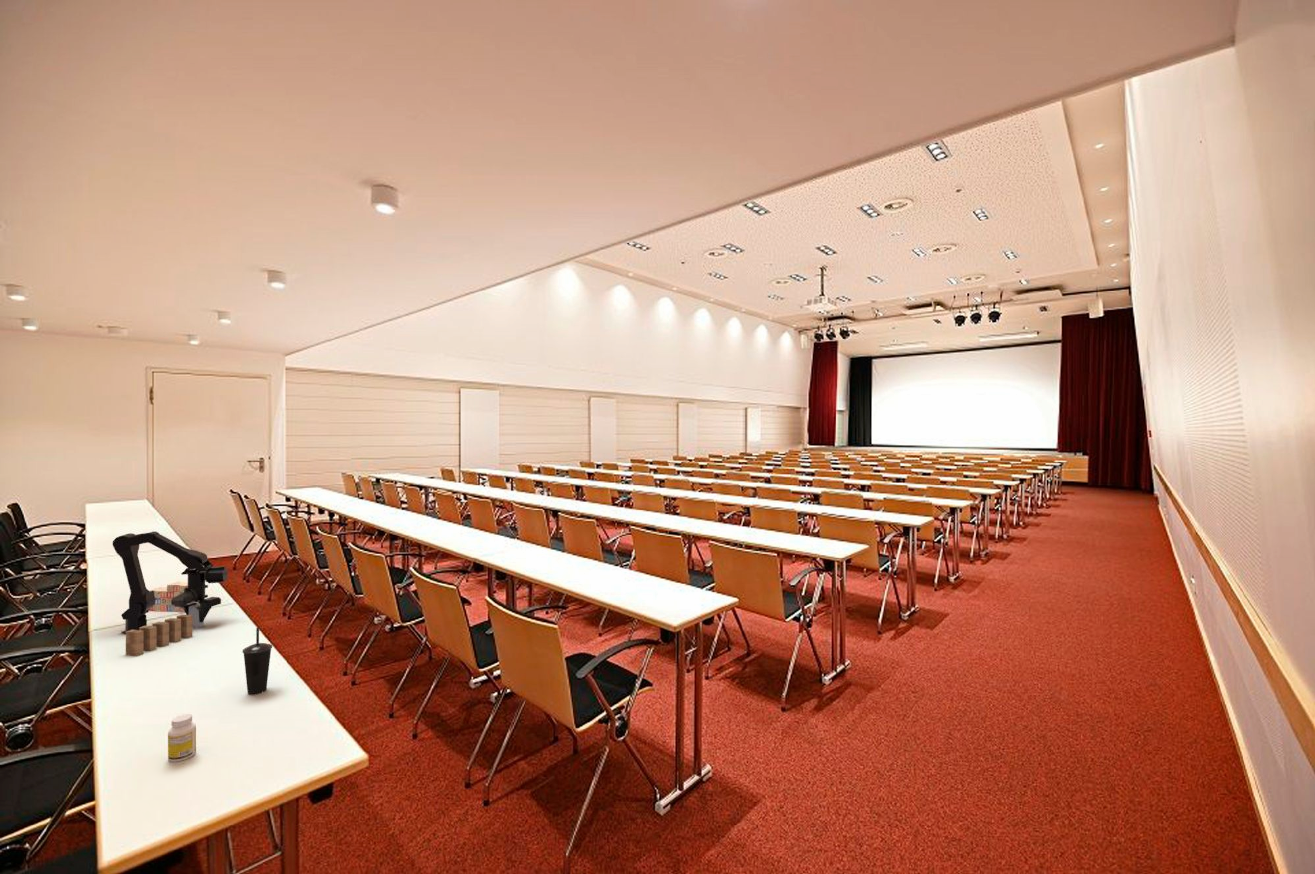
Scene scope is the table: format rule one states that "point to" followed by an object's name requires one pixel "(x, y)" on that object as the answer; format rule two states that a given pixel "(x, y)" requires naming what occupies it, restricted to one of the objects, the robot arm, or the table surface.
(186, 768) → the table surface
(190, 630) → the domino
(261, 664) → the drinking cup
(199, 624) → the slate domino
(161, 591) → the stack of blocks
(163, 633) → the domino
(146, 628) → the domino
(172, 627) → the domino
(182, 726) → the supplement bottle
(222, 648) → the table surface
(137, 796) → the table surface
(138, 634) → the domino
